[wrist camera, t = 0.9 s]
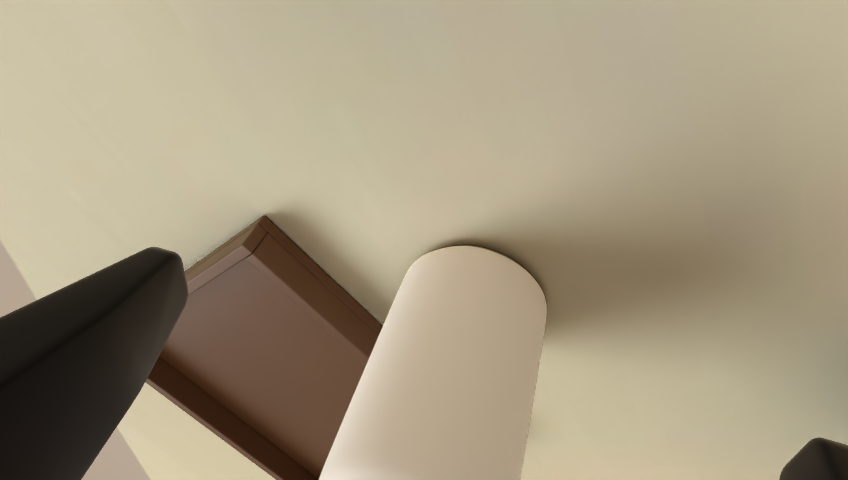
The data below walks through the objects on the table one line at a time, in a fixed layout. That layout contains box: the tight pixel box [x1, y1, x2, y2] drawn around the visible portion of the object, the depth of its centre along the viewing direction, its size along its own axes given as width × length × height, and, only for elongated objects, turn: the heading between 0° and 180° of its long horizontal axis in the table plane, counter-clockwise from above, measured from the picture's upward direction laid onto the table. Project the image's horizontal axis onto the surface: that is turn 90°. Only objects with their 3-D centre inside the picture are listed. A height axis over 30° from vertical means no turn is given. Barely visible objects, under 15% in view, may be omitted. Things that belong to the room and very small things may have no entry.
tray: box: [145, 216, 383, 480], centre depth 35 cm, size 17×15×2 cm
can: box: [319, 245, 547, 480], centre depth 23 cm, size 6×6×12 cm
